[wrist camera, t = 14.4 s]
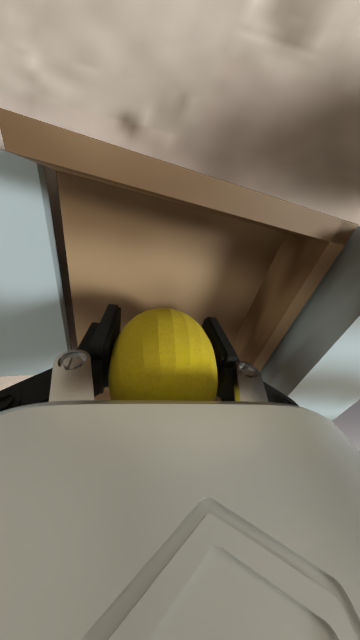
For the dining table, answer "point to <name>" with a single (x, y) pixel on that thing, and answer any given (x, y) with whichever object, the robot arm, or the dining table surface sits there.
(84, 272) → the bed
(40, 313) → the panel
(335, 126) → the dining table surface
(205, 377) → the lemon
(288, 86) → the dining table surface
